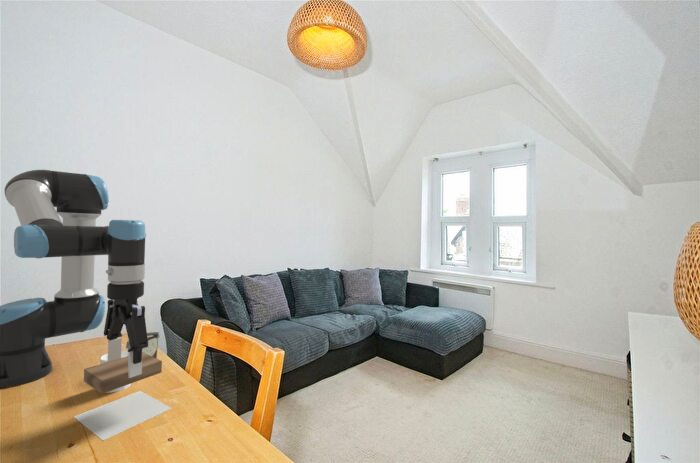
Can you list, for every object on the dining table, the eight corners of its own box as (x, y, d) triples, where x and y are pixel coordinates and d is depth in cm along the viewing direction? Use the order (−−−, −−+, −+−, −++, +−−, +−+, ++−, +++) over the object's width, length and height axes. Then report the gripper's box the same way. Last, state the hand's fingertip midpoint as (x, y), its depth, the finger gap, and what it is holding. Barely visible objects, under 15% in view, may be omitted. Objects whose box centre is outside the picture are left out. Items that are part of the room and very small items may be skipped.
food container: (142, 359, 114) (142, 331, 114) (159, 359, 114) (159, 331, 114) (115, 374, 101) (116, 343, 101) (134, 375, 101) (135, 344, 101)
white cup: (115, 398, 88) (116, 362, 88) (92, 394, 89) (92, 359, 89) (139, 384, 95) (140, 351, 95) (117, 381, 97) (118, 348, 97)
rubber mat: (73, 419, 78) (73, 416, 78) (140, 393, 90) (140, 390, 90) (102, 444, 69) (103, 440, 69) (171, 411, 82) (171, 408, 82)
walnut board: (83, 381, 77) (84, 369, 77) (141, 362, 88) (142, 351, 88) (102, 393, 72) (102, 380, 72) (161, 372, 83) (161, 360, 83)
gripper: (88, 278, 82) (87, 363, 83) (132, 289, 71) (129, 389, 71) (121, 274, 89) (119, 354, 89) (166, 285, 77) (164, 376, 77)
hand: (124, 369), depth 80 cm, fingers closed on walnut board, 10 cm apart
